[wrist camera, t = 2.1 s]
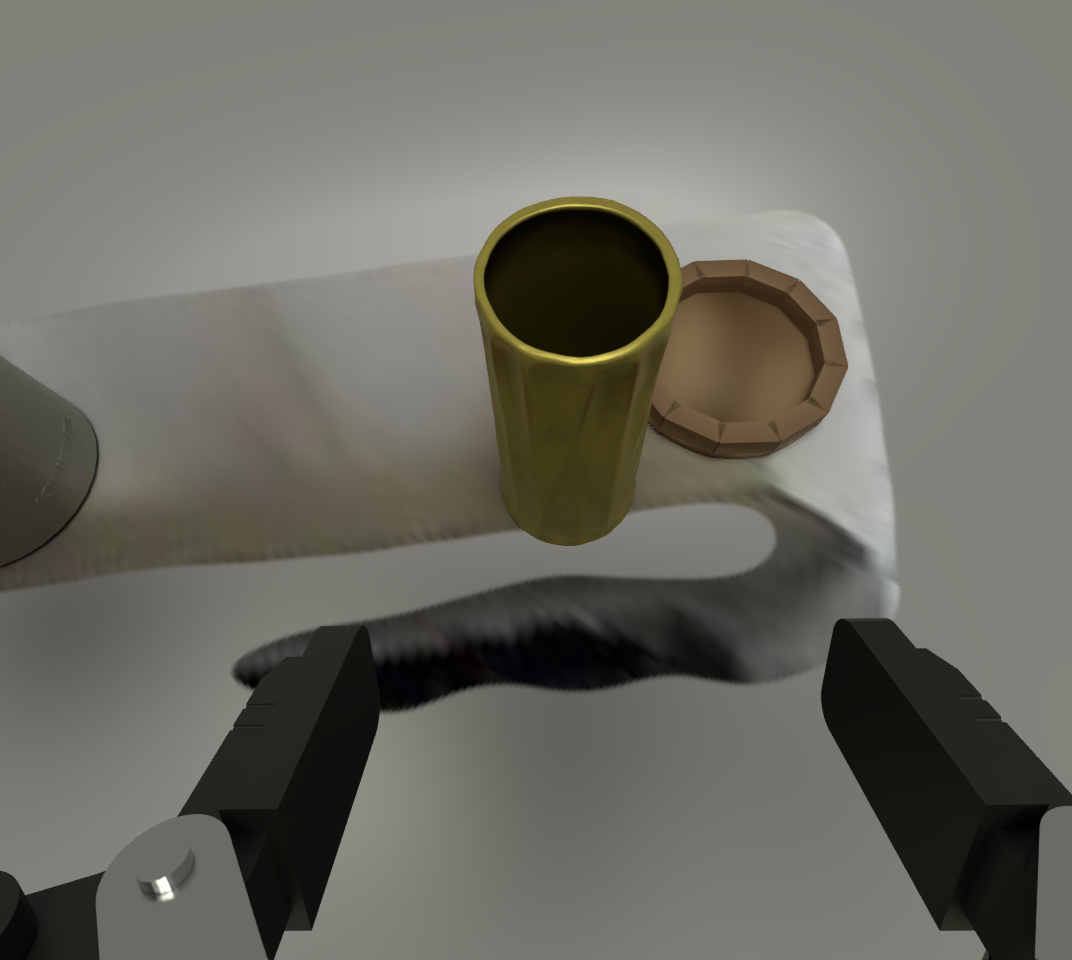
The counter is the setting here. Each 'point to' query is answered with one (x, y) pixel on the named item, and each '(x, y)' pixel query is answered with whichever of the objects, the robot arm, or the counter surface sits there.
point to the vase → (574, 357)
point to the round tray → (746, 361)
